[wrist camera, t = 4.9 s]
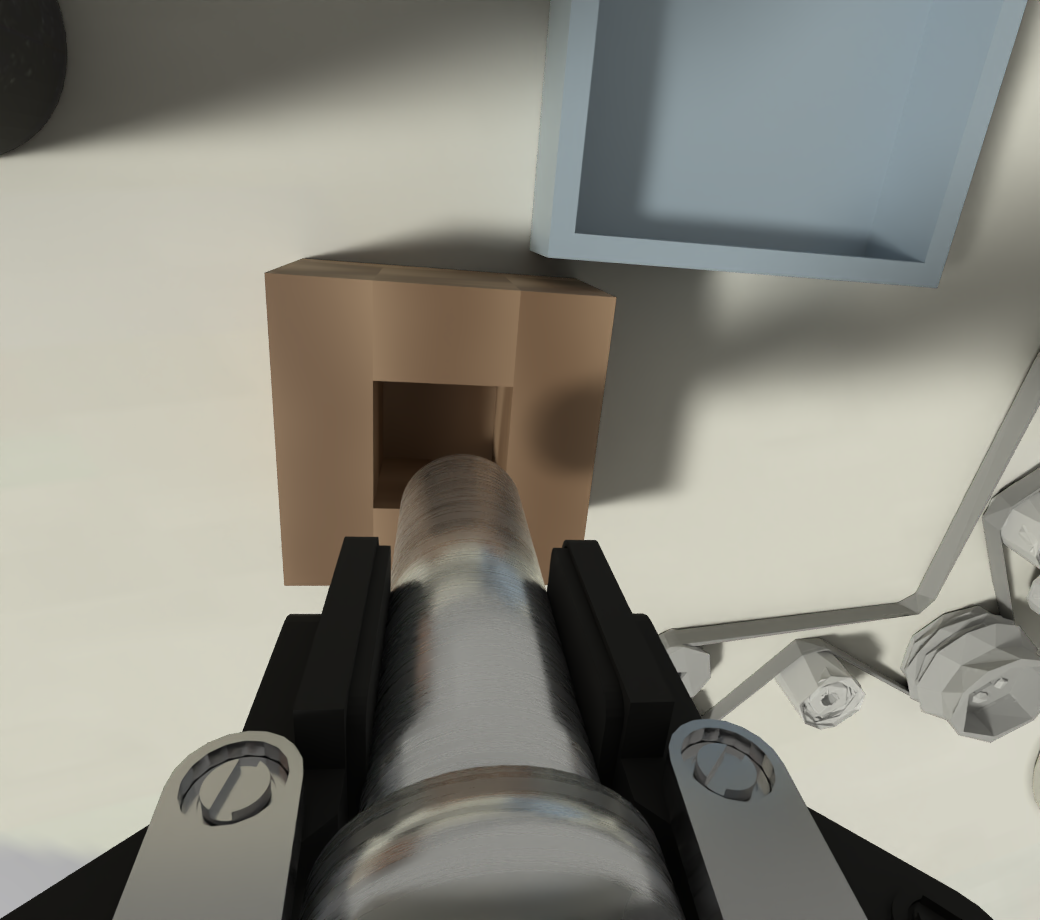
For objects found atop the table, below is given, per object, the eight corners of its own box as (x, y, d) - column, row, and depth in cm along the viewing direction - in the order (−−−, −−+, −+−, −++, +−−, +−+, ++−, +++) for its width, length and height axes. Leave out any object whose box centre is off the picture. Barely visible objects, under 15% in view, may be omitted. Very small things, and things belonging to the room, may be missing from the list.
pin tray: (984, -163, 18) (1103, -242, 15) (865, 277, 23) (937, 288, 20) (570, -248, 16) (605, -360, 13) (529, 250, 21) (547, 257, 18)
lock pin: (544, 440, 14) (738, 859, 5) (530, 577, 15) (665, 1115, 6) (382, 434, 14) (262, 888, 4) (382, 576, 15) (288, 1158, 6)
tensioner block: (576, 278, 21) (616, 297, 17) (550, 514, 25) (577, 584, 20) (303, 258, 20) (264, 273, 15) (313, 511, 23) (284, 585, 19)
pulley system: (1201, 497, 30) (1120, 258, 24) (1328, 551, 26) (1269, 279, 20) (742, 802, 35) (579, 671, 29) (786, 889, 31) (606, 757, 25)
